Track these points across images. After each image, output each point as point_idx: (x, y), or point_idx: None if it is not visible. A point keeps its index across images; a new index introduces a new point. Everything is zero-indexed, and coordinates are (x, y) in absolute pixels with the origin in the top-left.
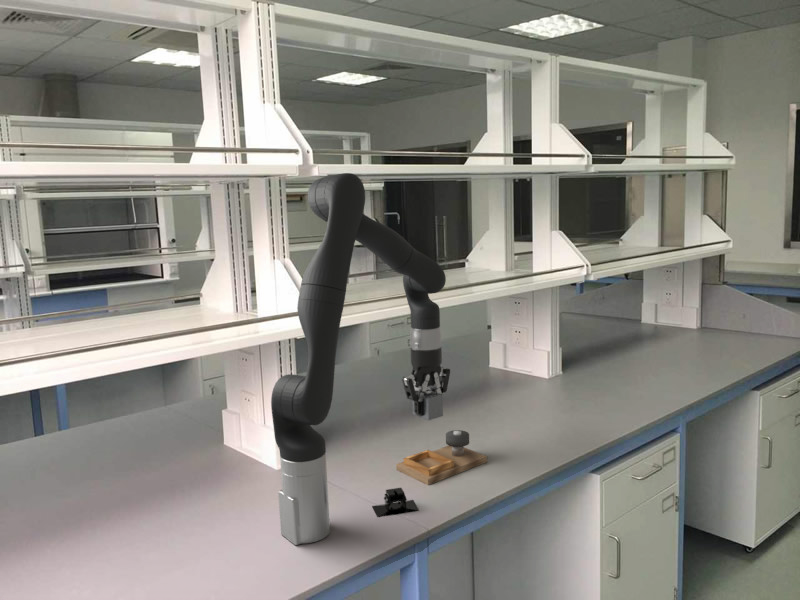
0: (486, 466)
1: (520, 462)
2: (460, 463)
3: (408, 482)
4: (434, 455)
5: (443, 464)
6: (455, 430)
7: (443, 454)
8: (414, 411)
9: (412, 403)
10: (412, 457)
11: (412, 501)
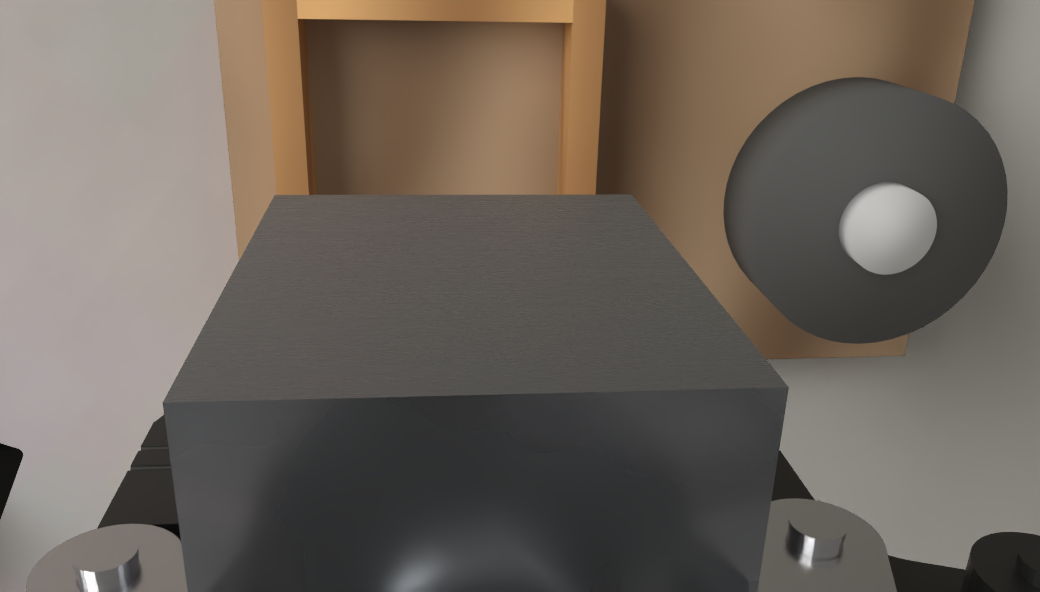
0: (813, 386)
1: (1013, 483)
2: None
3: (158, 212)
4: (566, 123)
5: None
6: (967, 120)
7: (706, 78)
8: (155, 422)
9: (234, 271)
10: (360, 17)
11: (2, 471)
